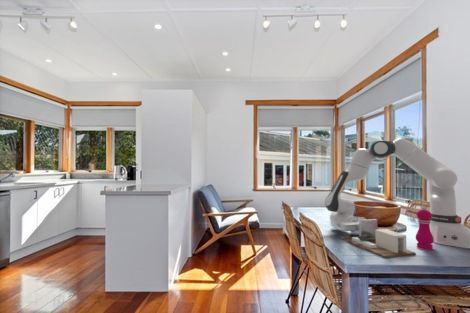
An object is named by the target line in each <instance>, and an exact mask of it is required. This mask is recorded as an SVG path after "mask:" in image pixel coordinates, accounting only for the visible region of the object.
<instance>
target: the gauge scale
mask: <svg viewBox="0 0 470 313" xmlns="http://www.w3.org/2000/svg"><path fill="white" fill-rule="evenodd" d="M351 237H352V240H353V241H355V242H357V243H360V244H362V245H364V246H367V247H369V248H377V245H376V244H373V243H371V242H368V241H366V240H359V238H358V237H354V236H351Z"/></svg>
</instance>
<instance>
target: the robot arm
mask: <svg viewBox="0 0 470 313" xmlns="http://www.w3.org/2000/svg"><path fill="white" fill-rule="evenodd" d="M390 156H393V157H396V158H398V159H399V160H400V161H402V162H403V163H404V164H405V165H406V166H408V167H409V168H410V169H411V170H413V171H414V172H415V173H417V174H418V175H420V176H421V177H423V179H425V180H426V181H427V182H428V191H429V212H430V213H431V215H432V217H431V219H430V224H429V227H430V231H431V233H432V235H433V238H434V241H433V243H435V244H438V245H444V246H450V247H455V248H456V247H457V248H462V249H470V228H469V227H467V226H466V225H464V224H463V223H462V216H458V215H457V198H456V192H455V185H456V184H457V182H458V175H457V173H456V172H455V171H454V170H453V169H451V168H449V167H448V166H446V164H443V163H442V162H440V161H439V160H437V159H436V158H435V157H433V156H431V155H430V154H429V153H427V152H426V151H425V150H423V149H422V148H420V147H419V146H418V145H416V144H414V143H413V142H412V141H409V140H407V139H406V138H402V137H397V138H396V139H394V140H393V141H390V140H385V139H378V140H375V141H373V142H372V143H371V145H370V148H357V150H356V151H355V152H354V153H353V155H352V157H351V160H350V162H349V165H348V167H347V168H346V169H344V170H342V172H340V174H339V176H338V177H337V179H336V181H335V183H334V185H333V187H332V188H331V190H330V192H329V194H328V195H327V196H326V198H325V200H324V205H325V208H326V209H327V210H328V211H329V212H332V213H331V214H330V215H329V220H330V222H331V223H332V224H333V225H334V226H336V227H338V228H339V229H340V230H342V231H344V232H355V231H359V220H368V219H366V218H365V217H362V216H355V214H356V211H357V207H356V203H355V202H354V200H352V199H349V198H345V197H341V193H342V192H343V190H344V188H345V186H346V185H347V184H348V183H350V182H358V181H362V180H364V179H365V178H366V177H367V175H368V172H369V170H370V167H371V164H372V162H375V161H376V162H382V161H385V160H387V159H389V157H390Z"/></svg>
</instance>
